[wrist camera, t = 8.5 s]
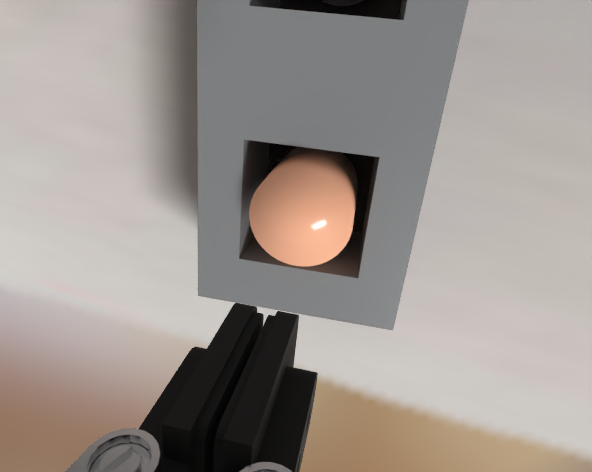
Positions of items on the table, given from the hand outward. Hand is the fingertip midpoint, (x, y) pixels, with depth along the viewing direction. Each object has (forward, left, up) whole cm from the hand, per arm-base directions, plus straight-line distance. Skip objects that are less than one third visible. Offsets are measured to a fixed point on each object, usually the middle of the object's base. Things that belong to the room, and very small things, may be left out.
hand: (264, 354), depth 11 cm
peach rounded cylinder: (+1, 0, -15) cm, 15 cm away
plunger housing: (+1, -6, -17) cm, 18 cm away
